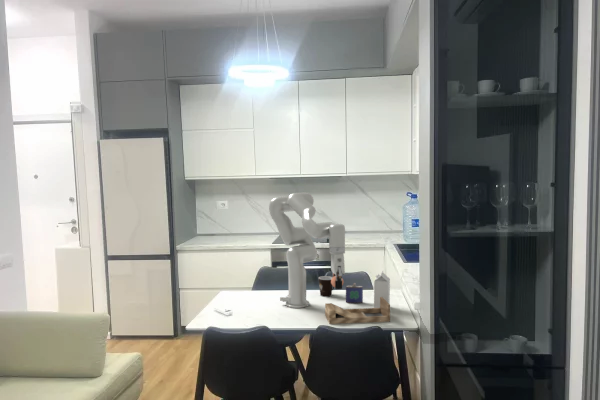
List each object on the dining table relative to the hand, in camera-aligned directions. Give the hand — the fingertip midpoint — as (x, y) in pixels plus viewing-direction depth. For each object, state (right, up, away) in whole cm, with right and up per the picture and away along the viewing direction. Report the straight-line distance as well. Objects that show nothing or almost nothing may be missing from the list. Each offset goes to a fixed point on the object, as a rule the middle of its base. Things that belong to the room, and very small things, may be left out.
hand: (337, 286), depth 199 cm
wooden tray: (+10, -16, +2) cm, 19 cm away
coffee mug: (-3, -14, +38) cm, 41 cm away
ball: (0, -1, 0) cm, 1 cm away
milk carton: (+25, -15, +16) cm, 33 cm away
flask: (+12, -14, +26) cm, 32 cm away
